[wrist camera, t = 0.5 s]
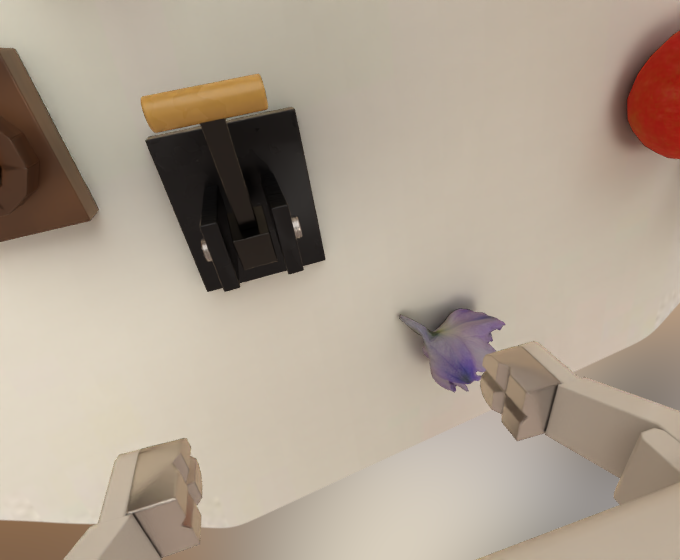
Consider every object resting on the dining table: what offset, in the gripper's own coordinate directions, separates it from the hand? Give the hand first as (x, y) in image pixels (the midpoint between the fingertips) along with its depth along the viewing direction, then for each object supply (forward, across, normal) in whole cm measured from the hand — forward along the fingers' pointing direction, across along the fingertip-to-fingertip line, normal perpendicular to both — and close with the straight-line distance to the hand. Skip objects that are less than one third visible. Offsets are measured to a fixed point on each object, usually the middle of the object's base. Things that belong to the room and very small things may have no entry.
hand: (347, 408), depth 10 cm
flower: (+23, -15, +18) cm, 33 cm away
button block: (+23, +16, -5) cm, 28 cm away
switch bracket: (+23, +2, +1) cm, 23 cm away
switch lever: (+15, +2, -3) cm, 16 cm away
